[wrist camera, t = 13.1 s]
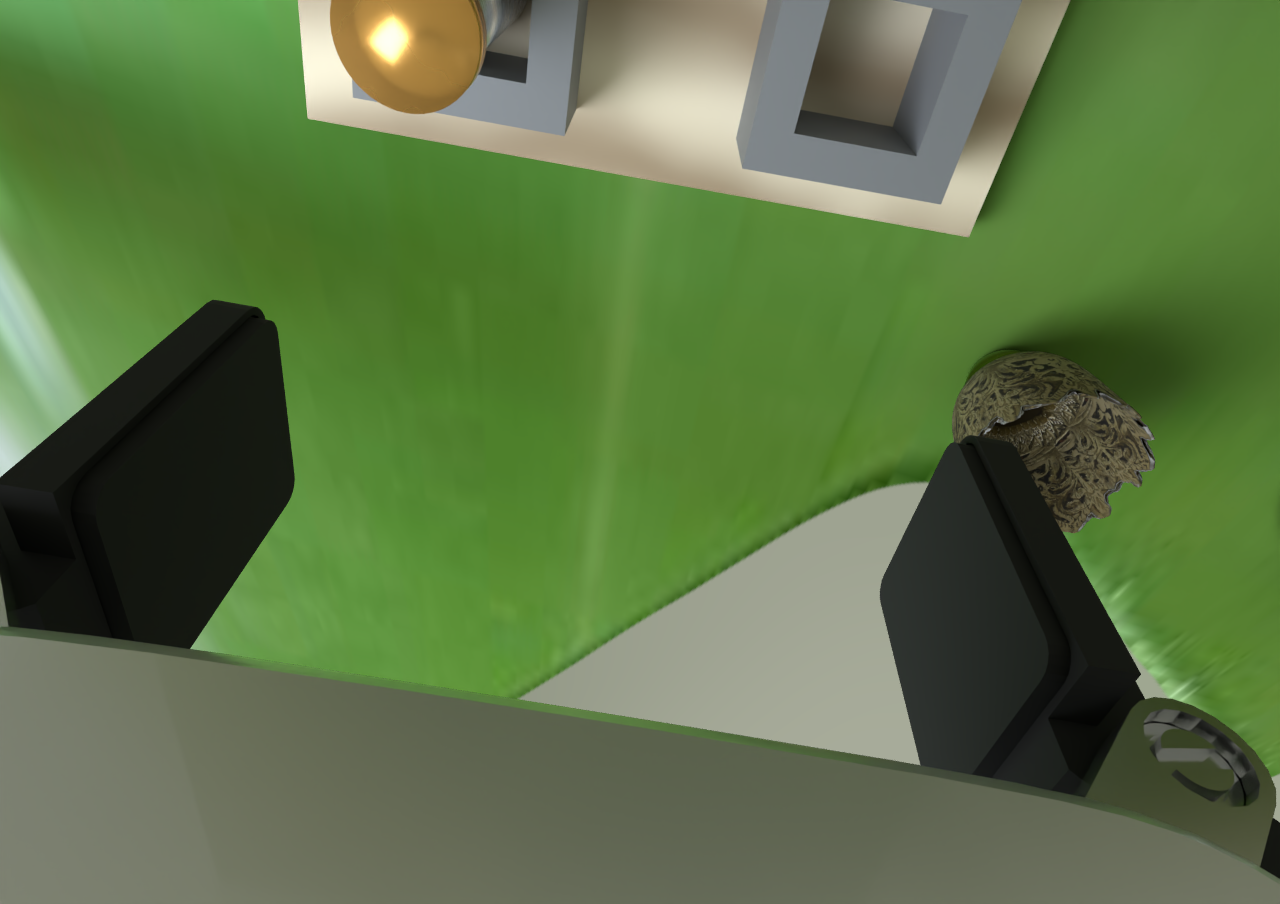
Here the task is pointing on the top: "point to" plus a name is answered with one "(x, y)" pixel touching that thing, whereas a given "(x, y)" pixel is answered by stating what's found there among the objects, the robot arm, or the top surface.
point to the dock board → (718, 97)
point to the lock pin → (417, 47)
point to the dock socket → (529, 75)
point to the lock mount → (861, 151)
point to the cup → (1057, 429)
